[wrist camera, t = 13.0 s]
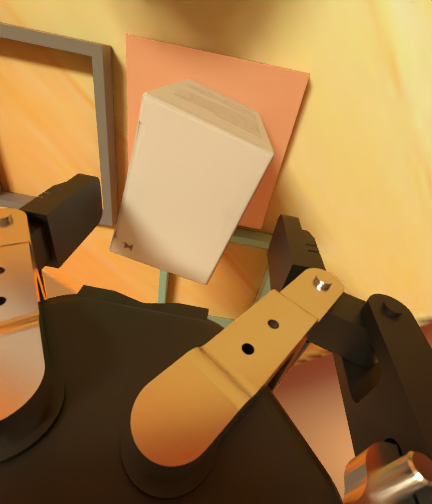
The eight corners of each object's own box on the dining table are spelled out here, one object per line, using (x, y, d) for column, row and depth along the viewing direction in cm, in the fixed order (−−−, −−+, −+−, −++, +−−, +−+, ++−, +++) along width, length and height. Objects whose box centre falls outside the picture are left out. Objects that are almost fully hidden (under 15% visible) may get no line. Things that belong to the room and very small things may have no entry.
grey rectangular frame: (110, 45, 18) (101, 45, 17) (118, 218, 26) (112, 226, 25) (-64, 8, 18) (-87, 5, 17) (-3, 196, 26) (-15, 203, 24)
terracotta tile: (307, 73, 18) (310, 73, 18) (260, 225, 25) (260, 229, 25) (130, 34, 18) (125, 34, 17) (131, 200, 25) (128, 204, 24)
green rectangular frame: (285, 237, 26) (287, 246, 25) (251, 326, 34) (251, 336, 32) (167, 215, 25) (163, 222, 24) (159, 310, 33) (156, 320, 32)
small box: (218, 206, 24) (206, 290, 15) (156, 180, 23) (106, 255, 14) (262, 111, 19) (280, 154, 11) (187, 74, 18) (141, 90, 10)
